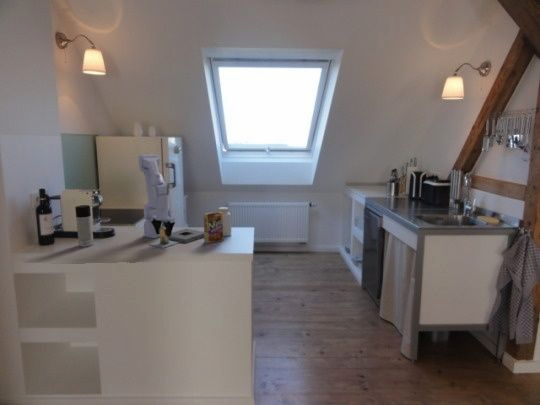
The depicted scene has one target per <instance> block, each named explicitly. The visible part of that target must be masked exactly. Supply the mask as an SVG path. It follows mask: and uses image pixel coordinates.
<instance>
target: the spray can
mask: <svg viewBox="0 0 540 405" xmlns="http://www.w3.org/2000/svg"><path fill="white" fill-rule="evenodd" d="M74 209H75V210H74V211H75V220H76V228H77V238H78V246H79V247H80V246H81V248H83V247H84V248H85V247H87V246H88V247H91V246H93V245H94V234H93V233H94V232H93V223H92V214H91V213H92V212H91V205H89V204H81V205H77V206H75V208H74Z"/></svg>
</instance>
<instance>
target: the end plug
mask: <svg viewBox="0 0 540 405" xmlns="http://www.w3.org/2000/svg"><path fill="white" fill-rule="evenodd" d="M159 232H160V237H159V241H160V244H169V241H170V240H169V237H167V235H166V228H165V226H162V227H160V228H159Z"/></svg>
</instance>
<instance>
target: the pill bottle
mask: <svg viewBox="0 0 540 405" xmlns="http://www.w3.org/2000/svg"><path fill="white" fill-rule="evenodd" d="M218 211H220V212H222V214H223V237H229V236H231V235H232V215H231V212H229V207H226V206H221V207H218Z"/></svg>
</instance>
